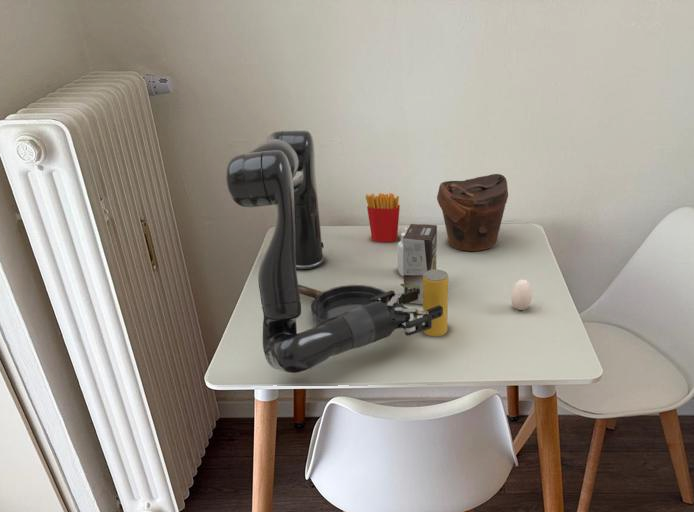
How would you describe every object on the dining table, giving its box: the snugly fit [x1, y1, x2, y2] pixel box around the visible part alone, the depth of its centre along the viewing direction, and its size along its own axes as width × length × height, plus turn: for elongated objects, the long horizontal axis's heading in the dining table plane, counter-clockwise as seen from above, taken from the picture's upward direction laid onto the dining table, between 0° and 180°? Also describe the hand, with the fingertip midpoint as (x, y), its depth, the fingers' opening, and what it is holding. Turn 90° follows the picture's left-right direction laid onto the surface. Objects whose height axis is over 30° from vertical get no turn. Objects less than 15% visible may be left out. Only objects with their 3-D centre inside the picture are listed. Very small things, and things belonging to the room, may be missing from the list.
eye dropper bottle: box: [397, 227, 408, 277], centre depth 162 cm, size 4×6×12 cm
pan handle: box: [298, 283, 323, 299], centre depth 153 cm, size 11×2×2 cm, turn 58°
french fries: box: [365, 192, 401, 243], centre depth 180 cm, size 9×4×13 cm, turn 85°
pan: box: [310, 284, 389, 325], centre depth 147 cm, size 18×18×3 cm
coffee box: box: [403, 223, 438, 305], centre depth 151 cm, size 9×6×16 cm
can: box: [422, 268, 449, 337], centre depth 139 cm, size 5×5×13 cm
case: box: [436, 173, 509, 252], centre depth 176 cm, size 18×20×18 cm
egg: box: [510, 278, 533, 311], centre depth 148 cm, size 5×5×7 cm
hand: (429, 301), depth 137 cm, fingers open, 8 cm apart
